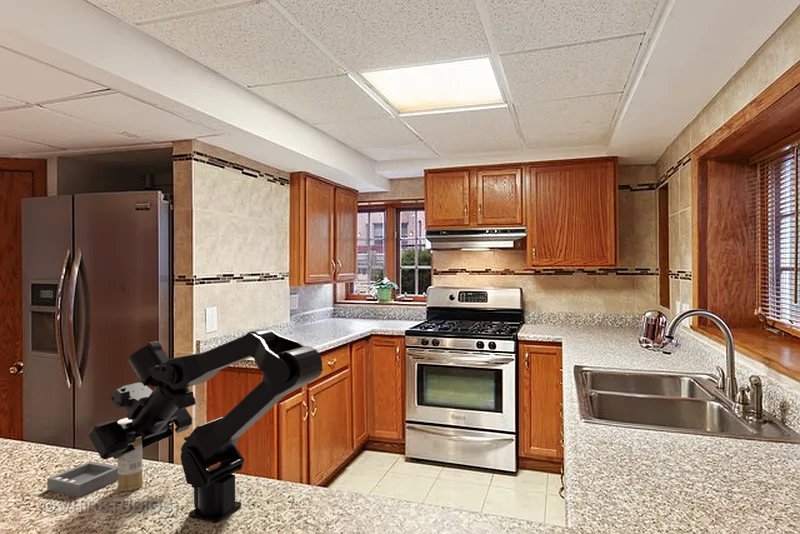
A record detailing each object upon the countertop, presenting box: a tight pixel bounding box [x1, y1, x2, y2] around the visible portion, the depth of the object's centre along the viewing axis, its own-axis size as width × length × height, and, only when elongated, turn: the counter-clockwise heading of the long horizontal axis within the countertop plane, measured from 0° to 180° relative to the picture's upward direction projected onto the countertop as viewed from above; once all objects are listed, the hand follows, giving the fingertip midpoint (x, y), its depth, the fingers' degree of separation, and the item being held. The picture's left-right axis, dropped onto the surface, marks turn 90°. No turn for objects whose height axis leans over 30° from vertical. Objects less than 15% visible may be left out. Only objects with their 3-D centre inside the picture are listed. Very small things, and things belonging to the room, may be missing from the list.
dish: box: [46, 460, 118, 498], centre depth 99 cm, size 9×9×2 cm
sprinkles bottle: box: [116, 417, 144, 492], centre depth 97 cm, size 5×5×14 cm
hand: (125, 452), depth 98 cm, fingers closed on sprinkles bottle, 4 cm apart
